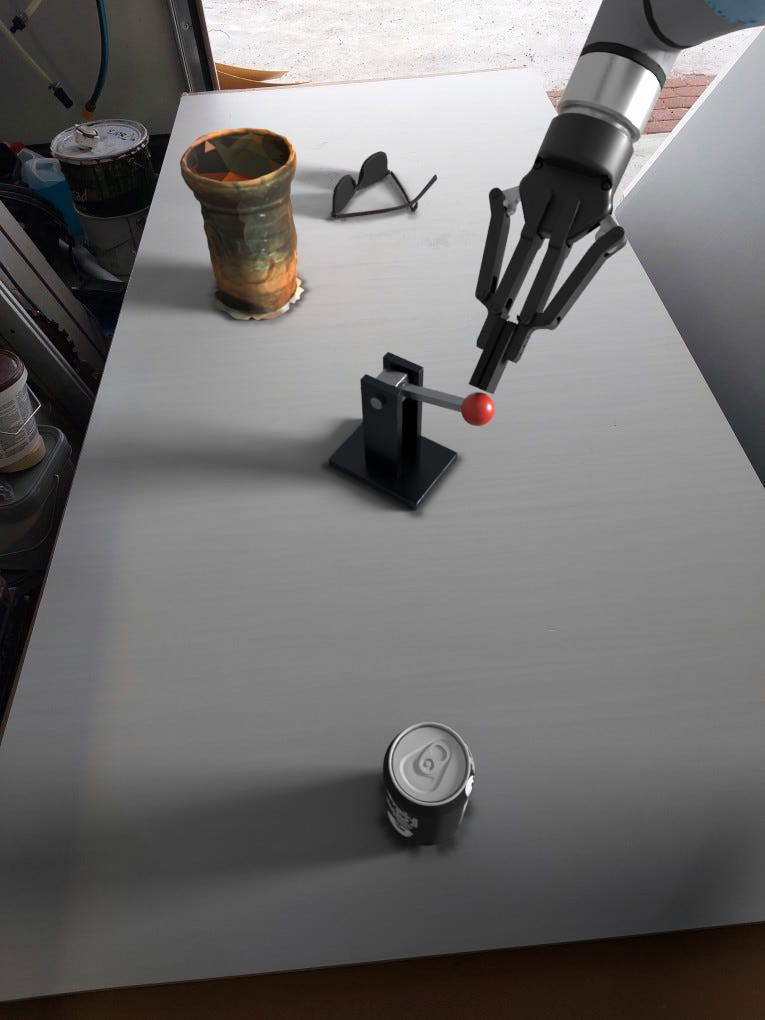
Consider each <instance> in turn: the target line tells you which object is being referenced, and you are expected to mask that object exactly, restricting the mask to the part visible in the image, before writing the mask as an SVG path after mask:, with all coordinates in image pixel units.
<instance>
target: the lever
mask: <svg viewBox="0 0 765 1020" xmlns="http://www.w3.org/2000/svg"><path fill="white" fill-rule="evenodd" d="M375 378H376V379H378V380H380V381H383V382H385V383H387V384H389V385H391V386H394V387H396V388H398V389H400V390H402V402H403V401H404V400H405V398H406V397H407V398H410V399H414V400H418V401H421V402H422V403H425V404H429V405H433V406H436V407H440V408H443V409H447V410H451V411H454V412H458V413H461V417H462V419H463V420H464V421H465V422H466V423H467V424H469V425H471V426H473V427H482V426H485V425H487V424H488V423H489V422H490V421H491V420H492V419H493V417H494V415H495V411H496V407H495V406H496V405H495V403H494V400H493V399H492V398H491V396H490V395H488V394H487V393H486V392H485V393H484V392H481V391H475V392H471V393H469V394H467V396H465V397H462V396H459V395H455V394H451V393H446V392H443V391H439V390H435V389H431V388H428V387H424V386H423V387H420V386H416V385H413V384H409V380H408V375H407V374H406V373H402V372H398V371H394V370H390V369H386V368H385V369H384V370H383V369H382V371H381V372H380V373H379V374H378V375H377V376H376V377H375Z"/></svg>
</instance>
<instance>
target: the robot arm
mask: <svg viewBox="0 0 765 1020" xmlns="http://www.w3.org/2000/svg"><path fill="white" fill-rule="evenodd" d="M764 26H765V0H601V3H600V6H599V8H598V10H597V12H596V15H595V18H594V20H593V23H592V25H591V26H590V27H591V28H590V29H589V32H588V35H587V37H586V40H585V41H584V44H583V47H582V48H581V51H580V54H579V56H578V58H577V61H576V63H575V65H574V68H573V70H572V72H571V73H570V76H569V79H568V81H567V83H566V85H565V88H564V89H563V92H562V95H561V97H560V99H559V102H558V104H557V106H556V110H557V114H558V115H556V116H554V117H553V118H552V119H551V120H550V123H549V125H548V128H547V130H546V132H545V134H544V137H543V139H542V142H541V145H540V146H539V149H538V152H537V154H536V156H535V159H534V162H533V165H532V166H531V168H530V170H529V171H528V172H527V173H526V174H525V175H524V176H523V177H522V178H521V180H520V181H519V184H518V185H515V186H513V187H509V188H507V189H504V190H502V189H501V188H499V187H493V188H491V190H490V191H489V193H488V201H489V209H490V218H489V223H488V228H487V232H486V233H487V234H486V238H485V243H484V248H483V254H482V258H481V263H480V267H479V272H478V276H477V282H476V287H475V292H474V296H475V298H476V300H478V301H479V302H480V303H481V304H482V305H483V306H484V307H485V308H486V310H487V314H486V318H485V320H484V323H483V325H482V327H481V329H480V332H479V334H478V336H477V339H476V345H475V346H476V348H478V349H480V350H481V351H482V352H481V354H480V356H479V358H478V361H477V364H476V365H475V367H474V370H473V373H472V375H471V377H470V379H469V382H468V385H469V386H471V387H474V388H476V389H478V390H481V391H483V392H485V393H488V394H492V395H494V394H495V392H496V389H497V387H498V385H499V383H500V381H501V378H502V376H503V374H504V372H505V369H506V368H507V365H508V363H509V362H512V363H513V364H518V362H519V361H520V360H521V358H522V357H523V354H524V352H525V350H526V348H527V346H528V343H529V341H530V339H531V337H532V335H533V333H534V332H535V331H538V330H550V331H554V330H556V329H557V328H558V326H560V324H561V323H562V321H563V320H564V318H565V317H566V316H567V314H568V313H569V312H570V311H571V309H572V307H573V306H574V305H575V303H576V302H578V300H579V298H580V296H581V295H582V294H583V293H584V291H585V290H586V288H587V287H588V286H589V284H590V283H592V280H594V278H595V276H596V275H597V273H598V272H599V271H600V269H601V268H602V266H603V265H604V264H605V263H606V261H607V260H608V259H610V258H611V257H613V256H614V255H615V254H616V253H618V252H619V251H621V250H622V249H623V248H624V247H625V246H626V245H627V243H628V239H627V234H626V231H625V229H624V227H623V226H620V225H618V224H617V222H616V220H614V218H613V217H612V215H613V211H614V205H613V203H614V196H615V194H616V192H617V190H618V187H619V185H620V184H621V181H622V179H623V177H624V175H625V172H626V170H627V168H628V165H629V163H630V161H631V159H632V157H633V155H634V152H635V149H634V144H635V143H637V142H639V140H640V139H641V136H642V134H643V132H644V130H645V128H646V127H647V124H648V121H649V119H650V117H651V115H652V113H653V110H654V108H655V107H656V104H657V102H658V100H659V98H660V95H661V93H662V91H663V89H664V86H665V84H666V82H667V79H668V77H669V76H670V74H671V71H672V69H673V67H674V65H675V63H676V61H677V59H678V56H679V54H680V53H681V52H682V51H683V50H686V49H691V48H693V47H696V46H699V45H701V44H704V43H705V42H709V41H711V40H714V39H717V38H719V37H722V36H726V35H728V34H731V33H735V32H738V31H739V32H740V31H743V30H746V29H752V28H758V27H764ZM519 203H520V204H521V210H522V215H523V221H524V224H523V226H522V228H521V231H520V234H519V235H520V236H519V239H518V242H517V244H516V246H515V249H514V251H513V253H512V256H511V257H510V260H509V263H508V264H507V267H506V269H505V271H504V273H503V275H502V277H501V272H502V268H503V267H502V266H503V262H504V258H505V254H506V247H507V244H508V238H509V234H510V228H511V217H512V216H513V215H514V214H515V213H516V211H517V206H518V204H519ZM598 228H599V229H598ZM596 229H598V230H597V231H596V233H595V234H594V242H593V243H592V244H591V245H590V246H589V248H588V249H587V250H586V252H585V253H584V255H583V256H582V257H581V259H580V260H579V262H578V263H577V264H576V266H575V267H574V268H573V270H572V271H571V272H570V274H569V276H567V278H566V280H565V281H564V282H563V284H562V285H561V286H560V288H559V289H558V291H557V292H556V293H555V295H554V296H553V297H552V299H551V301H550V302H549V303H548V301H549V299H550V296H551V294H552V291H553V289H554V287H555V285H556V282H557V280H558V278H559V275H560V273H561V270H562V268H563V266H564V263H565V261H566V259H568V257H569V255H570V253H571V251H572V249H573V247H574V244H576V243H577V242H579V241H580V240H582V239H583V238H585V237H586V236H588V235H589V234H590V233H592V232H594V231H595V230H596ZM545 240H548V244H547V249H546V252H545V253H544V255H543V258H542V260H541V263H540V265H539V267H538V270H537V272H536V275H535V277H534V280H533V282H532V284H531V287H530V289H529V291H528V294H527V296H526V298H525V301H524V303H523V306H522V308H521V311H520V313H519V314H516V321H517V323H516V322H514V321H511V320H510V318H511V316H510V315H509V314H510V312H511V310H512V308H513V305H514V304H515V301H516V299H517V298H518V295H519V293H520V291H521V288H522V286H523V284H524V282H525V280H526V278H527V275H528V273H529V271H530V269H531V266H532V264H533V262H534V261H535V258H536V256H537V254H538V252H539V250H541V248H542V247H543V244H544V242H545ZM500 277H501V280H500ZM547 303H548V304H547ZM546 305H547V306H546Z"/></svg>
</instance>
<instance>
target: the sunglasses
mask: <svg viewBox="0 0 765 1020" xmlns="http://www.w3.org/2000/svg"><path fill="white" fill-rule="evenodd" d="M388 161H389V160H388V155H387V153H386V152H384V151H383V150H380V151H376V152H374V153H372V154H371V155H369V156H368V157H366V158H365V160H364V161H363V162H362V164H361V166H360V170H359V174H358V178H357V181H356V179H355V178H354V177H353V176H352V175H351V174H344V175H343V176H341V178H340V179H339V180H338V181H337V183H336V184H335V186H334V189H333V192H332V200H331V201H332V204H331V205H332V208H331V213H330V217H331V218H333V219H336V220H338V219H348V218H350V219H351V218H357V217H358V218H359V217H365V216H372V215H379V214H385V213H390V212H391V213H392V212H395V211H396V212H397V211H401V210H403V209H406V208H409V209H410V211H411V212H412V213H415V212H416V211H417V209H418V207H419V200H420V199H421V198H422V197H423V196H424V195H425V194H426V193H427V192H428V190H429V189H431V187H432V186H433V185H434V184H435V183H436V182H437V180H438V175H437V174H433V176H432V177H431V178H430V180H429V181H428V182H427V184H426V185H425V186H424V187H423V188H422V189H421V191H420V192H419V193H418V194H417V195H416V196H415V197H414V199H412V200H410V197H409V196H408V194H407V192H406V190H405V188H404V187H403V184H402V183H401V182H400V180H399V178H398V177H397V176H396V174H395V173H394V171H393V170H390V169H389V168H388V167H389V166H388V164H389V163H388ZM388 175H390V176H391V177H392V178H393V180H394V182H395V184H397V186H398V188H399V189H400V191H401V193H402V195H403V196H404V198H405V200H406V202H407V203H404V204H400V205H397V206H393V207H386V208H379V209H373V210H365V211H364V210H363V211H357V212H347V213H341V212H342V211H343V210H344V209H345V207H347V205H348V203H349V202H350V201H351V199H353V197H354V196H355V195H356V193H357V192H359V191H361V190H364V189H367V188H369V187H371V186H373V185H374V184H376V183H378V182H380V181H381V180H383V179H384V178H385V177H387V176H388ZM413 205H414V206H413Z"/></svg>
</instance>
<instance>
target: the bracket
mask: <svg viewBox="0 0 765 1020" xmlns="http://www.w3.org/2000/svg"><path fill="white" fill-rule="evenodd" d="M385 368H386V369H390V370H394V371H398V372H402V373H406V374H407V375H408V380H409V384H413V385H416V386H420V387H424V372H425V371H424V370H425V369H424V368H425V367H424V366H422V365H420V364H418V363H416V362H413V361H410V360H409V359H406V358H403V357H401V356H399V355H396V354H394V353H392V352H390V351H387V352H386V353H385V354H384V355H382V371H383V370H384V369H385ZM359 382H360V396H361V397H360V398H361V399H360V400H361V415H362V422H361V423H360V424H359V426H358V427H357V428H356V429H355V430H354V431H353V432H352V433H351V434H350V435H349V436H348V437H347V438H346V440H344V442H342V444H341V445H340V446H339V447H338V448H337V449H336V450H335V451H334V452H333V453H332V455H331V456H330V457H329V458H328V459H327V462H328V466H329V467H330V468H332V469H334V470H337V471H338V472H341V473H342V474H343V475H345V476H348V477H350V478H351V479H354V480H355V481H358V482H360V483H361V484H363V485H365V486H367V487H369V488H371V489H373V490H375V491H377V492H379V493H380V494H382V495H385V496H386V497H388V498H390V499H392V500H394V501H396V502H398V503H400V504H401V505H403V506H406V508H410V509H411V510H413V511H415V512H416V511H417V510H418V509H419V508H420V507H421V505H422V504H423V503H424V502H425V500H426V499H427V498H428V496H429V495H430V494H431V493H432V491H433V490H434V489H435V488H436V487H437V486H438V484H439V483H440V482H441V480H442V479H443V478H444V476H446V474H447V473H448V472H449V470H451V468H452V467H453V465H454V464H455V463H456V461H457V460H458V455H459V454H458V452H457V451H455V450H453V449H451V448H449V447H448V446H447V447H446V446H445V445H442V444H440V443H439V442H436V441H434V440H432V439H429V438H427V437H425V436H424V435H422V421H423V402H421V401H418V400H414V399H410V398H407V397H406V398H405V400H404V401H403V402H402V390H400V389H398V388H396V387H394V386H391V385H389V384H387V383H385V382H383V381H380V380H378V379H376V377H374V376H372V375H369V374H367V373H365V374H364V375H363V376H362V377H361V378H360V380H359Z"/></svg>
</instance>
